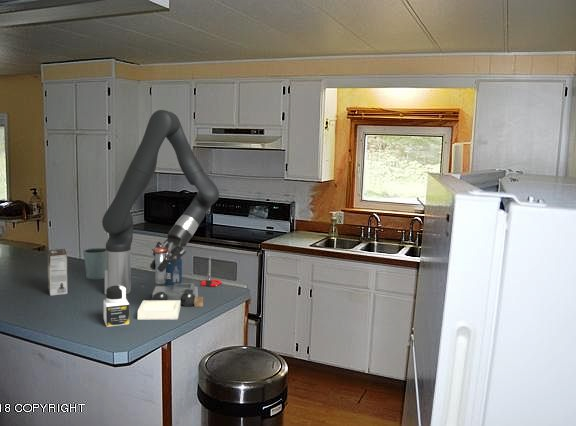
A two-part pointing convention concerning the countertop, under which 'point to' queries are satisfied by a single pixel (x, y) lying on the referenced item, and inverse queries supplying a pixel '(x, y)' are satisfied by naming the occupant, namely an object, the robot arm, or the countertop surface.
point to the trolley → (177, 293)
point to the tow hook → (209, 280)
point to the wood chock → (198, 302)
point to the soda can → (174, 272)
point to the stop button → (159, 257)
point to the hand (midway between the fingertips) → (155, 269)
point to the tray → (159, 309)
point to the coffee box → (57, 271)
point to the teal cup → (95, 262)
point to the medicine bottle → (116, 306)
